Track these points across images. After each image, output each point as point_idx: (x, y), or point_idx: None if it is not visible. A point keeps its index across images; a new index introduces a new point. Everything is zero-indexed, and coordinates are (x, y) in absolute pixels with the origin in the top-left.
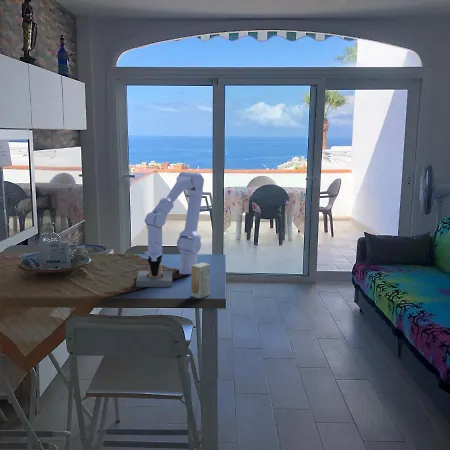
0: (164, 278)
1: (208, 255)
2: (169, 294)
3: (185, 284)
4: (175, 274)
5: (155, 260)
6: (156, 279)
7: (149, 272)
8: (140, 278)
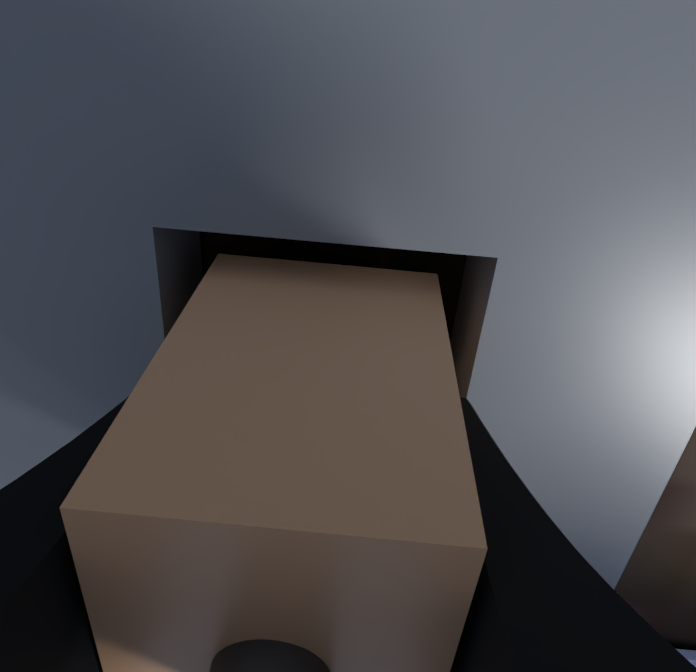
0: None
1: None
2: None
3: None
4: (658, 603)
5: None
6: (37, 414)
7: (170, 356)
8: (44, 59)
